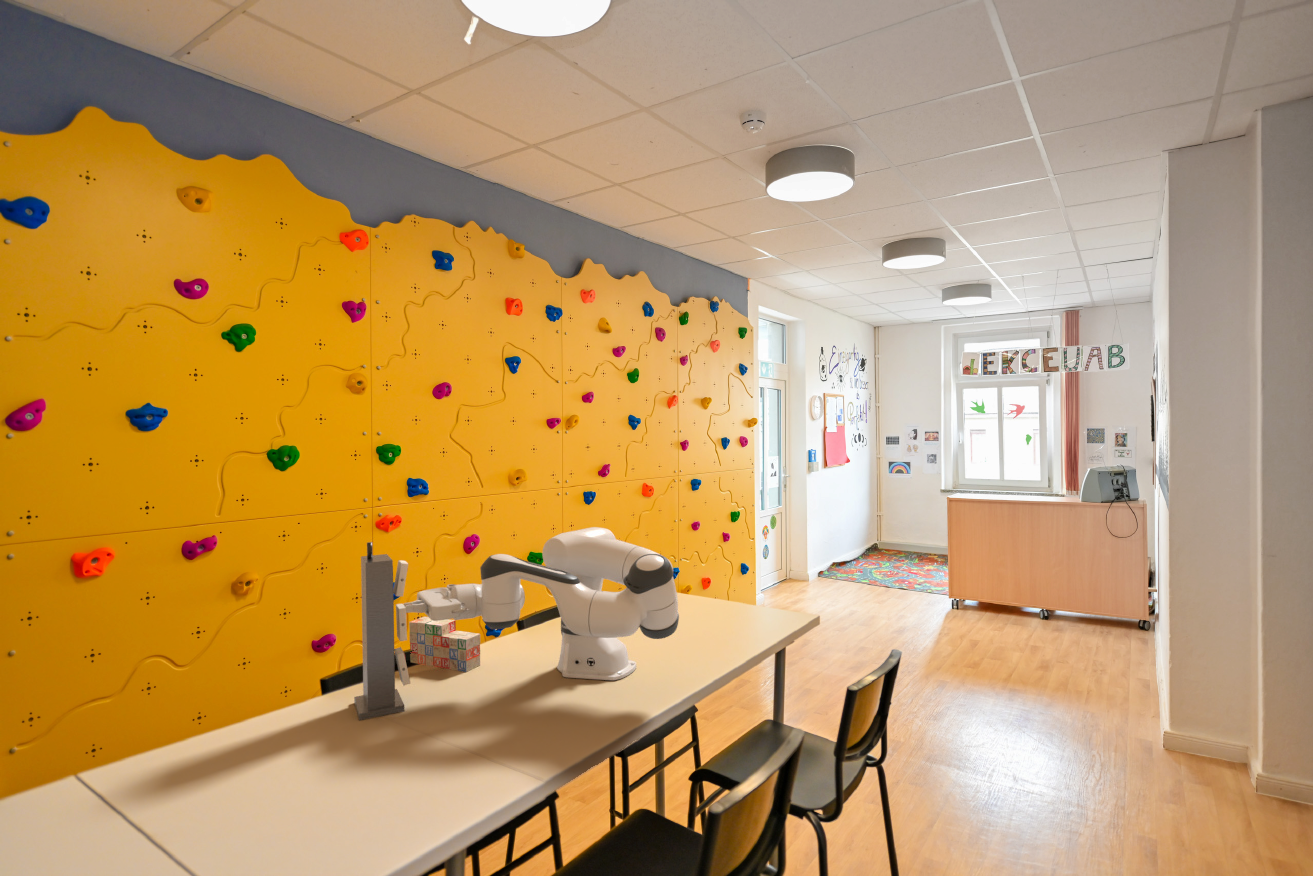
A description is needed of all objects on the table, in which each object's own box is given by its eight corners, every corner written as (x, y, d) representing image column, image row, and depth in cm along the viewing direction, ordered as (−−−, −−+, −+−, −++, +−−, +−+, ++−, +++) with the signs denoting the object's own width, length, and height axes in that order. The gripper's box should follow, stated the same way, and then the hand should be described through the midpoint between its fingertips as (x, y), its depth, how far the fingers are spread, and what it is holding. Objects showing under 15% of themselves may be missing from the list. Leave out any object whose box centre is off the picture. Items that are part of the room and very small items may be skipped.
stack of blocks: (481, 665, 193) (480, 623, 193) (466, 672, 187) (465, 629, 187) (425, 656, 202) (424, 615, 202) (409, 662, 196) (408, 621, 196)
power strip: (396, 694, 171) (394, 537, 171) (404, 711, 161) (401, 543, 161) (354, 702, 166) (351, 540, 166) (359, 720, 156) (356, 547, 156)
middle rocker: (404, 634, 169) (403, 603, 169) (407, 640, 165) (406, 607, 164) (396, 636, 168) (395, 604, 168) (400, 641, 164) (399, 609, 164)
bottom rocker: (407, 676, 169) (401, 646, 169) (411, 683, 165) (404, 652, 164) (400, 679, 169) (394, 649, 168) (403, 686, 164) (397, 655, 163)
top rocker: (400, 592, 169) (405, 560, 169) (403, 596, 164) (409, 563, 165) (393, 592, 168) (398, 560, 168) (396, 596, 163) (401, 563, 164)
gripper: (470, 623, 164) (411, 630, 157) (451, 606, 182) (397, 612, 175) (471, 597, 164) (412, 603, 157) (451, 583, 182) (398, 588, 175)
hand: (404, 608), depth 166 cm, fingers closed, pressing on middle rocker
